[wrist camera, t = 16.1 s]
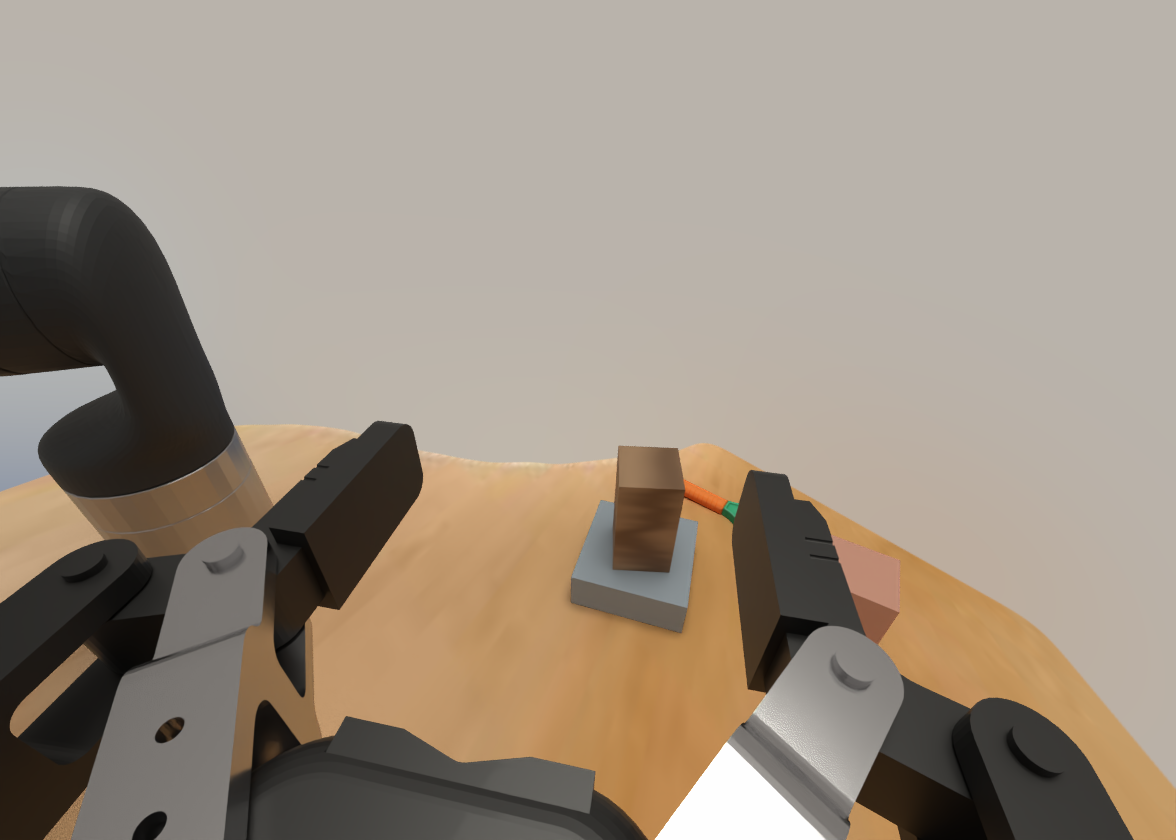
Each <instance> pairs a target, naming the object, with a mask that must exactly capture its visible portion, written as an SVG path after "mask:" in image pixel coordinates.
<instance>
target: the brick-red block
mask: <svg viewBox="0 0 1176 840" xmlns="http://www.w3.org/2000/svg"><path fill="white" fill-rule="evenodd" d="M831 537H832V540H833V545H835V548H836V551H837V554H838V557H839V563H841V566H842V569H843V571H844V574H845V577H846V580H847V583H848V586H849V589H850V592H851V595H852V598H853V601H854V603H855V606H856V609H857V612H858V615H859V618H860V621H861V624H862V627H863V630H864V632H865V634H866V637H867V638H869V639H870V640H872V641H873V642H874V643H876V644H878V643H879V642H880V640H881V639H882V637H883V636H884V634H885V633H886V631H887V630H888V628H889V627H890V626H891V624H892V623H893V621H894V620H895V618H896V617H897V615H898V614H899V612H900V560H898V559H895V558H892V557H890V556H887V555H884V554H881V553H879V552H876V551H873V550H871V549H868V548H865V547H863V546H860V545H857V544H855V543H852V542H849V541H846V540H844V539H841V538H838V537H836V536H833V535H831Z"/></svg>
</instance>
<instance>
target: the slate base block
mask: <svg viewBox="0 0 1176 840" xmlns="http://www.w3.org/2000/svg"><path fill="white" fill-rule="evenodd" d="M613 516H614V503H612V502H607V501H603V500H601V501H600V504H599V506H598V509H597V512H596V514H595V517H594V519H593V522H592V525H591V527H590V530H589V532H588V535H587V538H586V540H585V543H584V546H583V548H582V551H581V553H580V556H579V559H578V561H577V564H576V566H575V569H574V572H573V574H572V577H571V603H575V604H578V605H582V606H585V607H589V608H593V609H596V610H600V611H603V612H607V613H611V614H614V615H618V616H621V617H625V618H629V619H632V620H636V621H639V622H643V623H647V624H650V625H654V626H657V627H661V628H665V629H668V630H672V631H675V632H679V633H681V632H682V628H683V624H684V620H685V616H686V612H687V607H688V599H689V591H690V583H691V575H692V567H693V559H694V551H695V543H696V535H697V527H698V522H697V521H693V520H688V519H684V518H680V520H679V525H678V530H677V536H676V541H675V546H674V551H673V556H672V562H671V567H670V572H669V573H668V572H648V571H629V570H613Z"/></svg>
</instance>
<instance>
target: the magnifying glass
mask: <svg viewBox="0 0 1176 840" xmlns="http://www.w3.org/2000/svg"><path fill="white" fill-rule="evenodd" d="M683 480H684V479H683ZM684 485H685V494H684V496H685V497H687V498H689V499H691V500H693V501H695V502H697V503H699V504H701V505H703V506H705V507H707V508H709V509H711V510H713V511H715V512H717V513H719V514H722V515H723V516H725V517H726V518H727V519H729V520H730V521H731V522H732V523H733V524H734V519H735V515H736V512H737V509H738V505H739V503H734V502H731V501H727V500H725V499H723V498H721V497H719V496H717V495H715V494H713V493H710V492H708V491H706V490H704V489H702V488H700V487H698V486H696V485H694V484H692V483H690V482H688V481H686V480H684Z"/></svg>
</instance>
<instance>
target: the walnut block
mask: <svg viewBox="0 0 1176 840" xmlns="http://www.w3.org/2000/svg"><path fill="white" fill-rule="evenodd" d="M684 494H685V485H684V480H683V474H682V469H681V463H680V458H679V452H678V448H658V447H635V446H634V447H633V446H619V447H618V461H617V474H616V488H615V502H614V516H613V570H629V571H648V572H668V573H669V572H670V567H671V562H672V556H673V551H674V546H675V541H676V536H677V530H678V525H679V520H680V515H681V510H682V505H683V499H684Z"/></svg>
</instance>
